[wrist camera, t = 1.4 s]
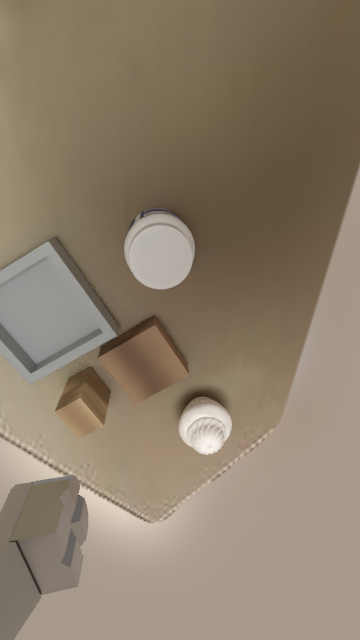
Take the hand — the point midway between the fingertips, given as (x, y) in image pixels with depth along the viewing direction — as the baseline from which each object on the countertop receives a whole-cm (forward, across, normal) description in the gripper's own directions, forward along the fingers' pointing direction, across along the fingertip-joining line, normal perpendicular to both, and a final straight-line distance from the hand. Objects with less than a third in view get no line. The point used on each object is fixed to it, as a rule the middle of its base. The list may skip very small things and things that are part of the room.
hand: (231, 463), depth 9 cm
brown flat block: (+28, +4, +10) cm, 30 cm away
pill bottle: (+27, +1, -3) cm, 27 cm away
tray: (+27, +13, +3) cm, 31 cm away
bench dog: (+28, +11, +13) cm, 32 cm away
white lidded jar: (+28, -1, +18) cm, 33 cm away
